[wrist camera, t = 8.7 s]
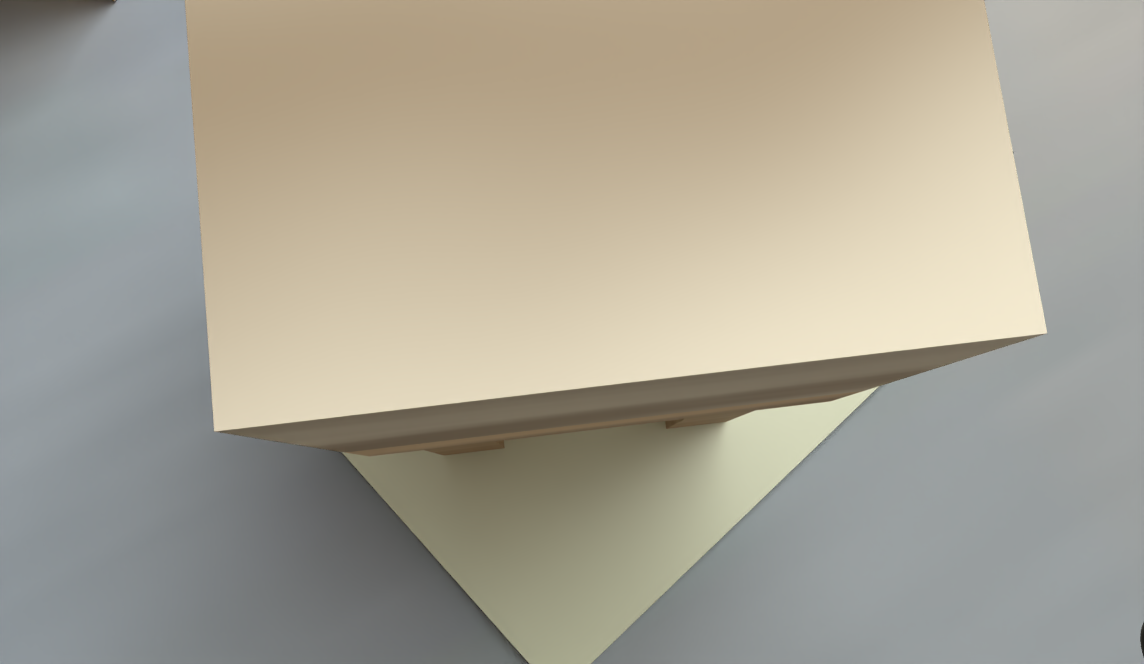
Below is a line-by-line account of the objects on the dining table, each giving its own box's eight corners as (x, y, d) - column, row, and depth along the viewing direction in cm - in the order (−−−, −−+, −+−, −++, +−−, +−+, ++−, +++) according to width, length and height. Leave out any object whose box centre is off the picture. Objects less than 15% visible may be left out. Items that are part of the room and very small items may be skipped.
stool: (737, 430, 20) (1048, 333, 7) (434, 466, 20) (214, 432, 7) (702, 186, 21) (929, -286, 8) (409, 219, 21) (170, -210, 8)
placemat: (558, 691, 20) (557, 695, 20) (224, 315, 21) (218, 312, 21) (918, 344, 21) (925, 341, 21) (585, 3, 22) (585, -6, 22)
